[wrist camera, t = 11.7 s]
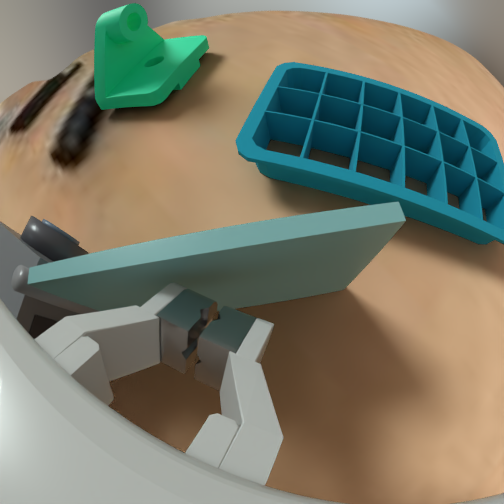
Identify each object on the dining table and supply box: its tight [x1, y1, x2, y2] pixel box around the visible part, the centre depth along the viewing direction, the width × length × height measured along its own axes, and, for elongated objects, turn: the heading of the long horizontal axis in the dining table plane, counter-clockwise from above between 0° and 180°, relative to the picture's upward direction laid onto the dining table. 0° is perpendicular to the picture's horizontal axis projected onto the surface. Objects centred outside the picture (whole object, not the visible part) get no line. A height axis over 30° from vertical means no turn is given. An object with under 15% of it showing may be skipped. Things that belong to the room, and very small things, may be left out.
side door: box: [12, 202, 406, 314], centre depth 11 cm, size 13×1×8 cm, turn 98°
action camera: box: [0, 216, 88, 339], centre depth 11 cm, size 15×7×8 cm, turn 157°
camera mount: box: [94, 3, 209, 110], centre depth 19 cm, size 12×8×10 cm, turn 164°
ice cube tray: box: [236, 62, 504, 244], centre depth 16 cm, size 12×20×3 cm, turn 71°
